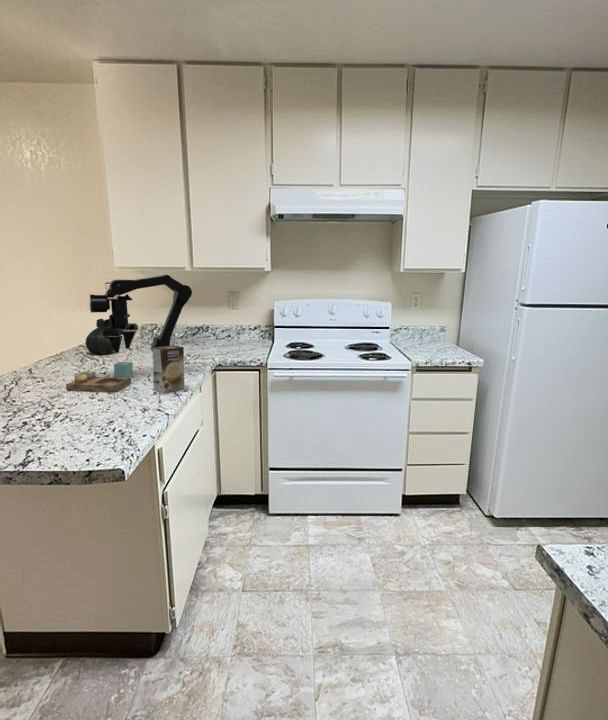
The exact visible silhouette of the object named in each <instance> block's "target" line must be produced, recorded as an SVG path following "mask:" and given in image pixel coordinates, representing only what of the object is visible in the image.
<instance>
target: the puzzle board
mask: <svg viewBox="0 0 608 720" xmlns="http://www.w3.org/2000/svg"><path fill="white" fill-rule="evenodd" d="M73 376H74V377H73V378H74V380H72V381H70V382H68V383H66V384H65V389H66V392H85V393H86V392H87V393H89V392H91V393H113V392H117V393H119V392H120V391H121V390H123V389H125V388H127V387H128V386H131V384H132V377H131V378H128V377H115V376H101V375H100V376H96V371H95V370H85V371H83V372H80V373H79V374H75V375H73Z"/></svg>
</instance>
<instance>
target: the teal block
mask: <svg viewBox="0 0 608 720" xmlns="http://www.w3.org/2000/svg"><path fill="white" fill-rule="evenodd" d="M113 372H114V373H113V374H114V377H128V378H130V377H131V378H132V377H133V362H132V361H129V362H128V361H119V362H117V363H113Z"/></svg>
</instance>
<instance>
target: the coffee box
mask: <svg viewBox="0 0 608 720" xmlns="http://www.w3.org/2000/svg"><path fill="white" fill-rule="evenodd" d="M184 349H185V348H184V347H183V346H179V345H176V344H175V345H174V344H172V345H170V346H163V347H153V352H152V363H153V365H152V367H153V368H152V369H153V372H152V373H153V391H154V392H158V393H161V394H167V393H171V392H176V391H177V392H178V391H182V390H185V357H184V355H185V354H184V353H185V352H184V351H185V350H184Z"/></svg>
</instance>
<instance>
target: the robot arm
mask: <svg viewBox="0 0 608 720" xmlns="http://www.w3.org/2000/svg"><path fill="white" fill-rule="evenodd" d="M157 286H166V287H167V288H168V289H169V290H171V291H172V292H173V296H172V304H171V307H170V309H169V311H168V314H167V316H166V320H165V321H164V325H163V326H162V329H161V332H160V333H159V335H158V337H157V336H153V339H152V342H151V343H150V346H151V349H150V350H151V352H152V353H153V347H163V346H171V338H172V336H173V332H174V330H175V327H176V326H177V322H178V320H179V317H180V314H181V312H182V311H183V308H184V307H185V305H186V304H187V303H188V301H189V300H190V298H191V297H192V295H193V290H192V288H191V286H189V285H186V284H182V283H181V282H179V281H178V280H176V279H174V277H172V276H171V275H169V274H162V275H156V276H151V277H150V276H149V277H144V278H136V279H113V280H111V281H110V283H109V285H108V287H109V289H108V290H107V291H106V292H105V293H104V294H89V311H90V313H107V312H108V311H110V310H111V314H109V316H108V319H103V318H98V319H97V320H96V322H95V323H96V325H95V326H96V328H99V329H100V330H102V336H104V337H105V338H107V339H109V340H110V342H111V344H112V346H113V348H114V351H113V352H115V354H119V352H120V348H121V345H122V340H124V345H125V349H126V350H129V349H130V348H131V344H132V342H133V340H134V337H135V336H136V333H138V332H137V331H138V330H139V325H138V324H137V323H134V322H133V323H131V322H129V318H130V317H131V314H130V313H128V301H133V298H132V297H131V296H129V293H130V292H133V291H135V290H138V289H140V290H141V289H145V288H151V287H157ZM127 293H128V294H127ZM115 297H116V298H115Z"/></svg>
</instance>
